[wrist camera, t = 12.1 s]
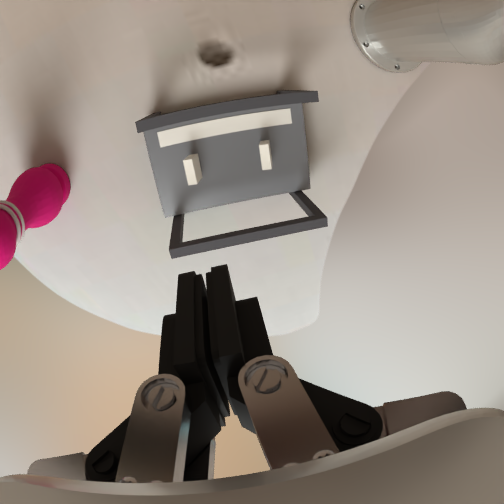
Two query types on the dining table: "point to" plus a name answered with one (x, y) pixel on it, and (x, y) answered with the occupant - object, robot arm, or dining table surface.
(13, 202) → the pepper mill
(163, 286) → the dining table surface
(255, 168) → the breaker panel
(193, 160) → the paddle
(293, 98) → the dark grey open frame
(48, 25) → the dining table surface
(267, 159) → the cream cuboid
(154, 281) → the dining table surface
